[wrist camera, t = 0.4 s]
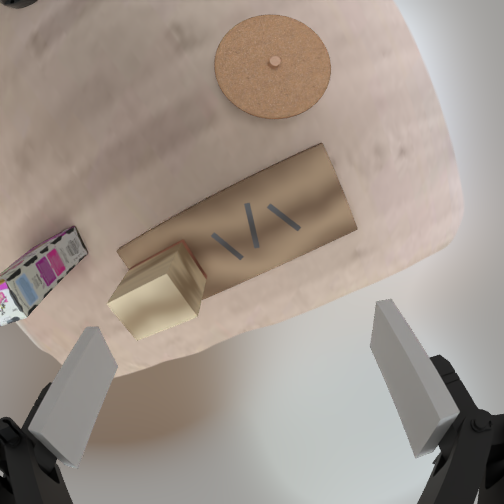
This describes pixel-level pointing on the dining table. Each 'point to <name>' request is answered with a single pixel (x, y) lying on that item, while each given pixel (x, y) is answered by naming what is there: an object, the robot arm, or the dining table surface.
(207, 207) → the board
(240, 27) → the lidded jar
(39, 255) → the candy bar box
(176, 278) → the block
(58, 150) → the dining table surface
